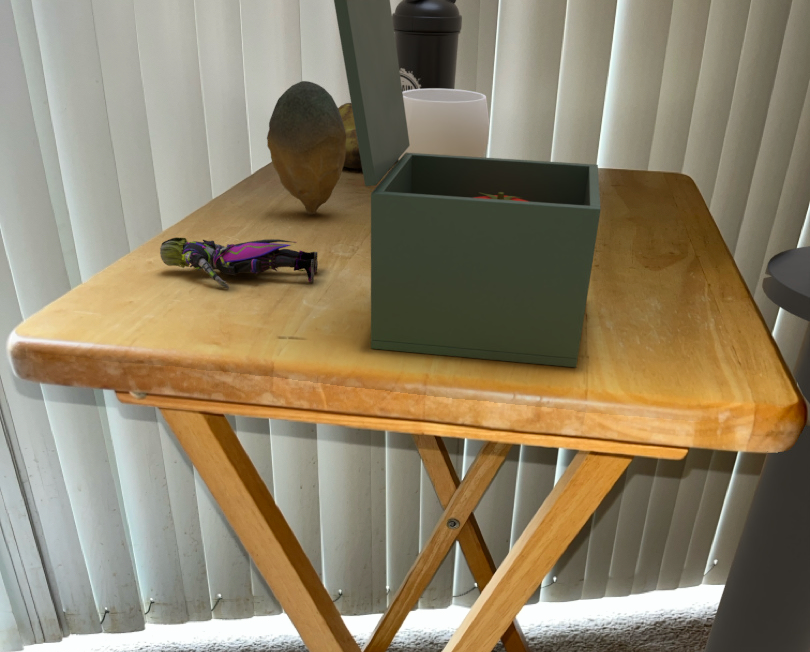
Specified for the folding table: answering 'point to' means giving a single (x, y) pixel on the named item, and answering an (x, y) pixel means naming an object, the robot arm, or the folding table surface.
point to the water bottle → (427, 43)
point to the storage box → (483, 257)
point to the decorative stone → (307, 143)
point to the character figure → (236, 257)
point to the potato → (350, 138)
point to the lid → (373, 84)
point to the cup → (446, 122)
